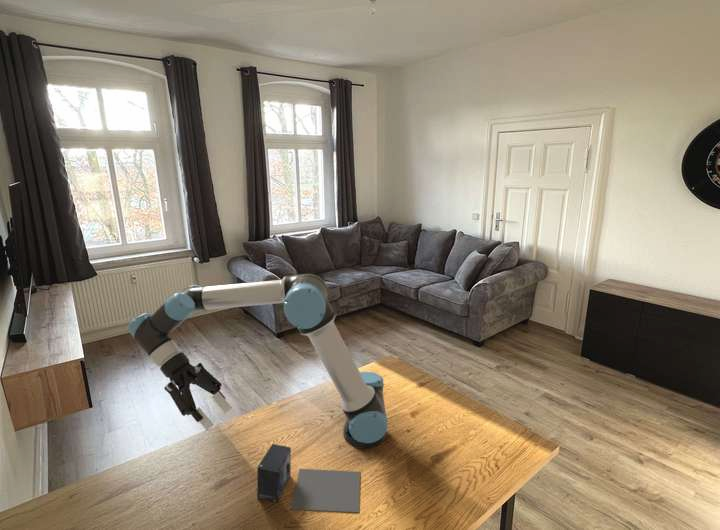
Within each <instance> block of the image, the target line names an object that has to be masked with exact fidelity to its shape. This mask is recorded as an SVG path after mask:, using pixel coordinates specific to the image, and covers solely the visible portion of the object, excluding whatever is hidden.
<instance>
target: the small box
mask: <svg viewBox="0 0 720 530" xmlns="http://www.w3.org/2000/svg"><path fill="white" fill-rule="evenodd" d="M291 457H292V447H290V446H285V445H279V444H274V443H272V444H271V445H270V447H269V449H268V450H267V451H266V453H265V455H264V456H263V458H262V459H261V461H260V463H259V464H258V466H257V467H256V468H257V470H256V472H257V474H256V475H257V477H256V479H257V485H256V486H257V487H256V488H257V493H256V494H257V495H256V498H257V499H258V500H264V501H267V502H270V503H271V502H272V503H278V502H279V499H280V497H281V496H282V494H283V492H284V490H285V488H286V486H287V484H288V482H289V481H290V478H291V473H292V472H291V469H292V468H291V465H292V464H291Z"/></svg>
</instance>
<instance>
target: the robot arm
mask: <svg viewBox="0 0 720 530" xmlns="http://www.w3.org/2000/svg"><path fill="white" fill-rule="evenodd" d="M327 286H328V285H327V284H326V282H325V281H324V280H323V278H321V277H320V276H318V275H316V274H312V273H302V274H301V273H300V274H293V275H285V276H284V277H283V278H282V279H277V280H276V279H274V280H263V281H252V282H243V283H231V284H222V285H220V284H219V285H211V286H209V285H208V286H201V285H199V284H192V285H190V286H187V287H185V288H183V290H182V291H180V292H176V293H174V294H173V295H172V296H170V297H169V298H167V299H166V300H165V302H163V304H162V305H161V306H159V307H158V308H157V310H155V311H154V312H153V313H150V312H145V313H142V314H140V315H138V316H137V317H136V318H134V319H132V320H131V321H130V322H129V324H128V325H127V331H128V332H129V334H130V335H131V337H133V340H134V341H136V342H137V344H138V345H139V346H140V347H141V348H142V349H143V350H144V352H145V353H146V354H147V356H148V357H149V358H150V359H151V360H152V362H153V363H154V364H155V365H156V367H158V368H159V371H160V372H161V373H162V374H163V376H165V377H166V378H167V379H169V383H167V384H166V385H165V386H164V388H163V389H164V390H165V391H166V392H167V393H168V394H169V396H170V397H171V399H172V401H173V402H174V404H175V406H176V408H177V409H178V412H179V413H180V414H181V416H183V417H185V416H190V415H191V416H192V418H193V419H194V420H195V422H197V423H199V424H200V425H201V426H202V428H204V429H205V431H209V429H211V428H212V427H213V426H214V423H213V421H212V420H211V419H210V418H209V417H208V416H207V414H206V413H205V412H204V411H203V409H201V407H200V406H199V407H197V405H196V402H195V399H194V397H193V394H192V391H191V387H190V386H191V384H192V385H196V386H198V388H199V387H200V388H201V389H203V390H204V391H206V392H208V393H210V395H212V396H211V398H212V399H213V401H214V402H215V404H217V405H218V407H219V408H220V409H221V410H222V411H223V413H224V414H227V413H228V412H229V411H231V410H232V408H233V407H232V406H231V405H230V403H229V402H228V401H227V400H226V397H225V395H224V394H223V392H221V391H220V390H221V389H222V386H223V385H222V383H221V382H220V381H219V380H218V379H217V378H216V377H214V375H213V374H211V373H210V372H209V370H207V369H206V368H205V366H204V365H203V364H202V363H201V362H199V363H197V365H192V364H191V362H190V359H189V358H188V357H187V355H186V354H185V353H184V352H181V351H182V349H181V348H180V346H179V345H178V344H177V343H176V342H175V341H174V340H173V338H172V337H171V335H170V334H171V333H172V332H173V331H174V330H175V329H176V328H178V327H179V326H180V325H181V324H182V323H183V322H184V321H185V320H187V319H188V318H189V317H190V316H191V315H192V314H193V313H194V312H198V311H208V310H218V309H219V310H220V309H230V308H240V307H250V306H251V307H252V306H262V305H274V304H275V305H276V304H283V312H284V315H285V318H286V320H287V321H288V322H289V323H290V324H291V325H292V326H294V327H295V328H296V327H297V330H298V331H299V333H300V335H302V336H306V337H308V339H309V341H310V343H311V345H312V346H313V349H314V350H315V352H316V353H317V356H318V357H319V359H320V361H321V363H322V364H323V366H324V369H325V370H326V371H327V374H328V375H329V377H330V379H331V381H332V382H333V385H334V387H335V389H336V390H337V392H338V394H339V396H340V398H341V402H340V408H341V410H342V412H343V414H344V415H345V418H346V420H345V422H344V425H343V431H342V436H343V439H344V440H345V442H346V443H348V444H349V445H351V446H352V447H355V448H358V449H373V448H376V447H378V446H380V445H382V444H383V442H384V441H385V440H386V433H387V430H388V423H389V422H388V418H387V412H386V406H385V399H384V386H385V385H384V384H385V383H384V378H383V376H382V375H380V374H379V373H376V372H371V371H360V370H359V368H358V366H357V365H356V363H355V360H354V359H353V356H352V355H351V353H350V351H349V348H348V347H347V345H346V343H345V341H344V339H343V338H342V336H341V334H340V332H339V330H338V328H337V326H336V324H335V319H336V317H337V316H336V312H335V310H334V309H333V307H332V305H331V303H330V301H329V298H328V295H329V290H328V287H327Z"/></svg>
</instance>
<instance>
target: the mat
mask: <svg viewBox="0 0 720 530" xmlns="http://www.w3.org/2000/svg"><path fill="white" fill-rule="evenodd" d="M360 485H361V471H350V470H348V471H347V470H334V469H333V470H331V469H314V468H313V469H310V468H308V469H307V468H299V470H298V475H297V479H296V483H295V487H294V491H293V495H292V500H291V503H290V508H289V510H291V511H292V510H293V511H294V510H295V511H311V512H312V511H313V512H328V513H329V512H330V513H348V514H359V513H360V494H361V493H360V488H361V486H360Z"/></svg>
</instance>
